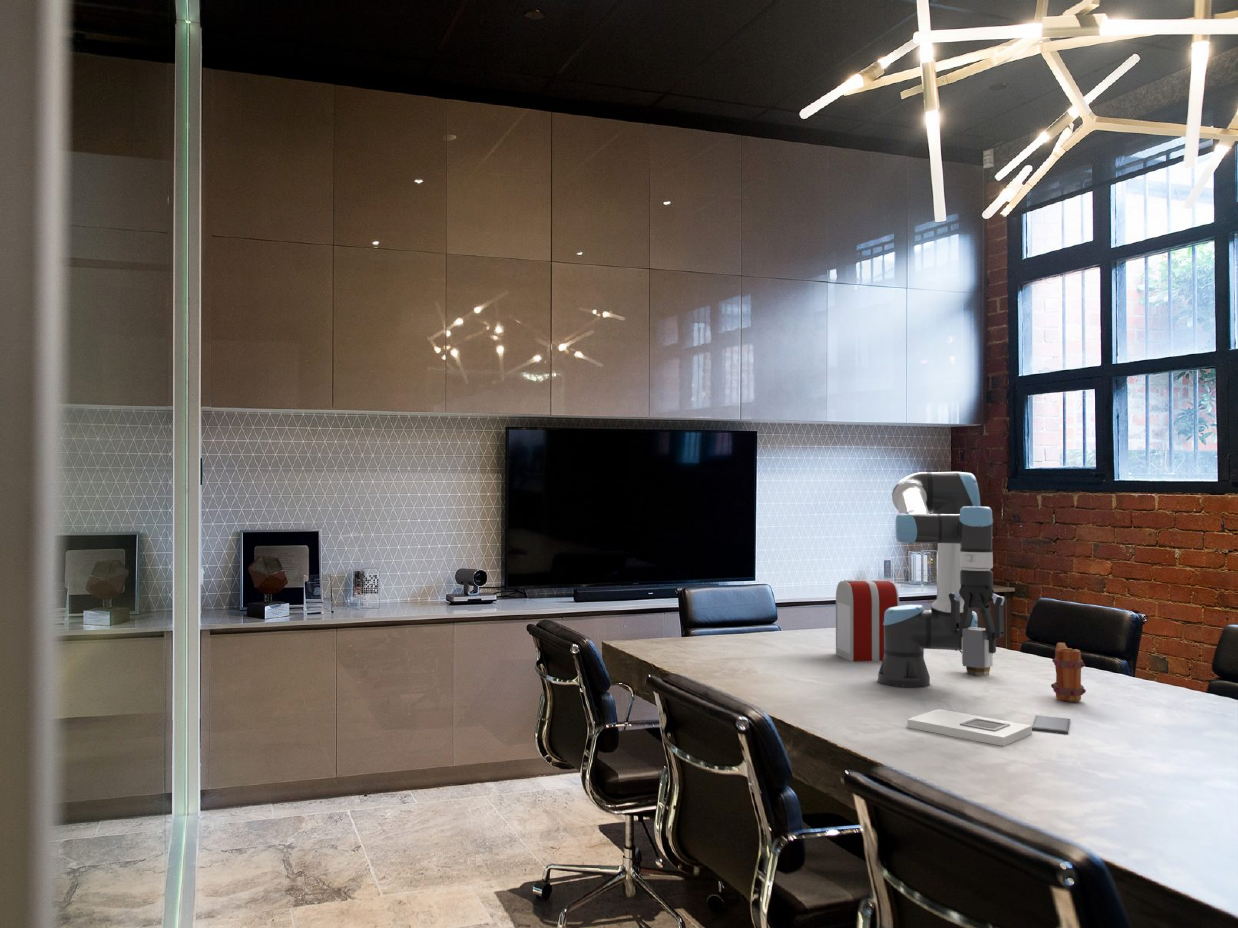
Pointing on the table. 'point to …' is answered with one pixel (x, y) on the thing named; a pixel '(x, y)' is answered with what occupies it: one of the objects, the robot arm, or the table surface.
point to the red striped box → (863, 618)
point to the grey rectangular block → (974, 647)
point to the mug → (1068, 674)
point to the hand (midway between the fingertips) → (977, 664)
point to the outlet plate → (970, 727)
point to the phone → (1051, 724)
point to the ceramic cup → (977, 670)
